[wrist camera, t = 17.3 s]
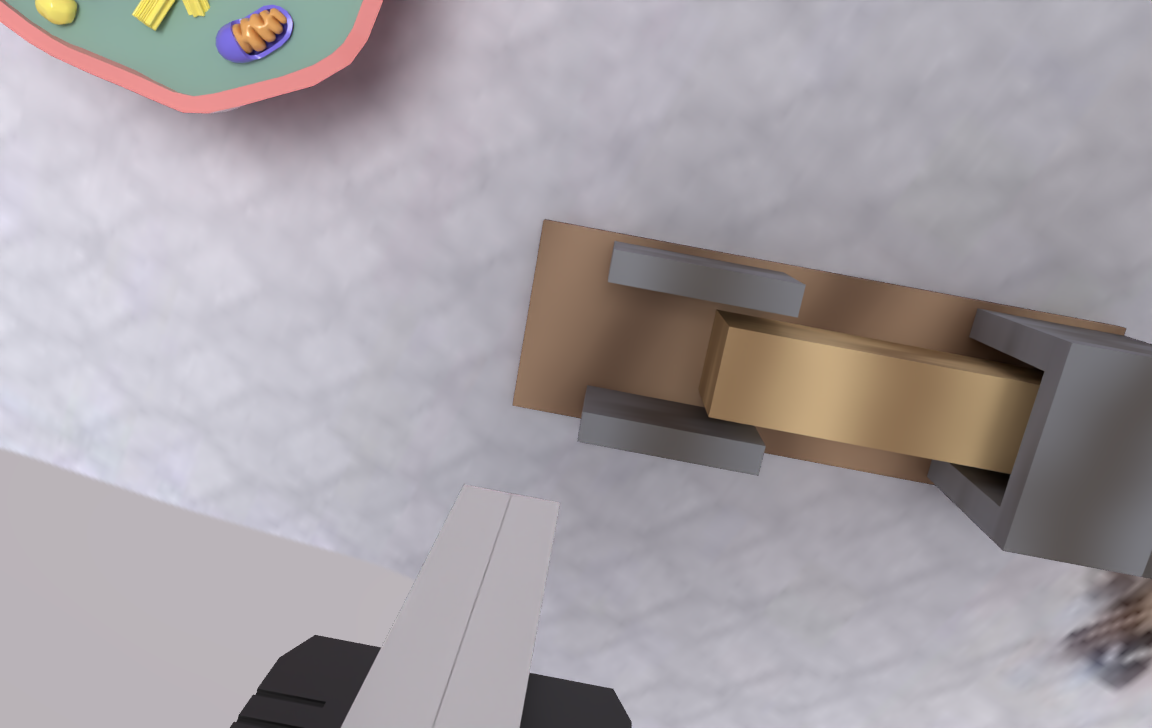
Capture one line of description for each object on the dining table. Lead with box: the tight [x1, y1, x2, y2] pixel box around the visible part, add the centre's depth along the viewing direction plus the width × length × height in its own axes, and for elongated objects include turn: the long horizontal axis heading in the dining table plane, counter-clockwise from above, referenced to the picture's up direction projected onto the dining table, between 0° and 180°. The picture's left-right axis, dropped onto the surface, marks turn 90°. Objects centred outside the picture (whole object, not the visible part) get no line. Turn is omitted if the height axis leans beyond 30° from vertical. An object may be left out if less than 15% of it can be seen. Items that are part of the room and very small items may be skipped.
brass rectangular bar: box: [698, 309, 1044, 474], centre depth 32 cm, size 14×4×4 cm, turn 80°
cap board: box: [513, 219, 1152, 579], centre depth 30 cm, size 24×8×8 cm, turn 80°
